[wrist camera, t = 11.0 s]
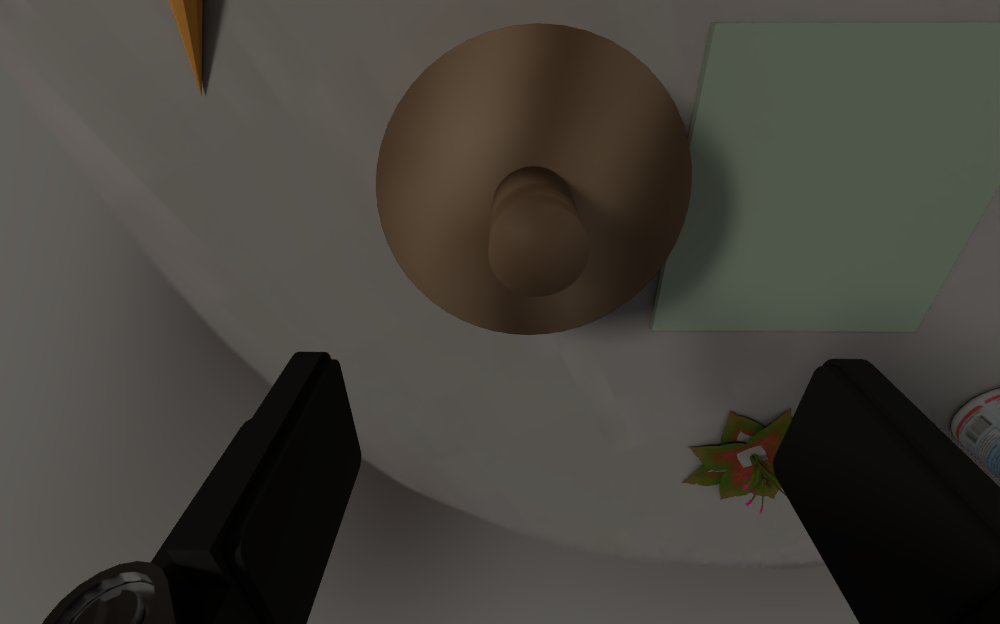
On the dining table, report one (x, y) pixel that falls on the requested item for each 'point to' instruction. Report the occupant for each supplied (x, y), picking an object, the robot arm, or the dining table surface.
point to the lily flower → (725, 457)
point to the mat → (832, 175)
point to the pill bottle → (980, 428)
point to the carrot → (190, 32)
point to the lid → (534, 179)
